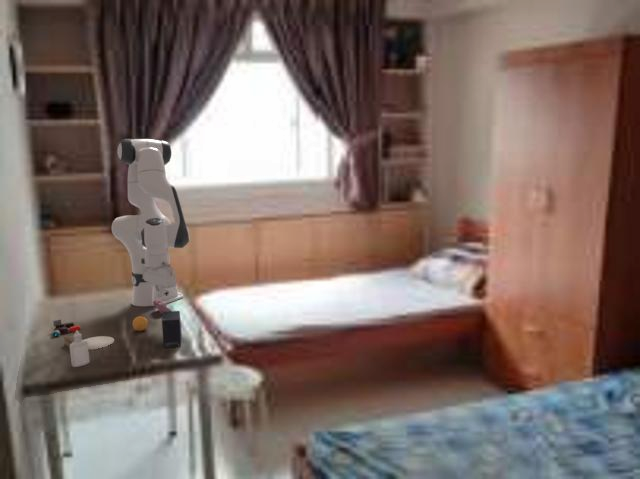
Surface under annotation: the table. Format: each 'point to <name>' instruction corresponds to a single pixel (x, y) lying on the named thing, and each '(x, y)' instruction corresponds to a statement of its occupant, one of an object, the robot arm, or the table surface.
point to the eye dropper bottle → (79, 351)
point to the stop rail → (68, 340)
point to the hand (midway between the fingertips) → (160, 295)
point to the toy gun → (64, 328)
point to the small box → (171, 329)
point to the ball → (140, 323)
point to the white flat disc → (99, 342)
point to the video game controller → (161, 306)
